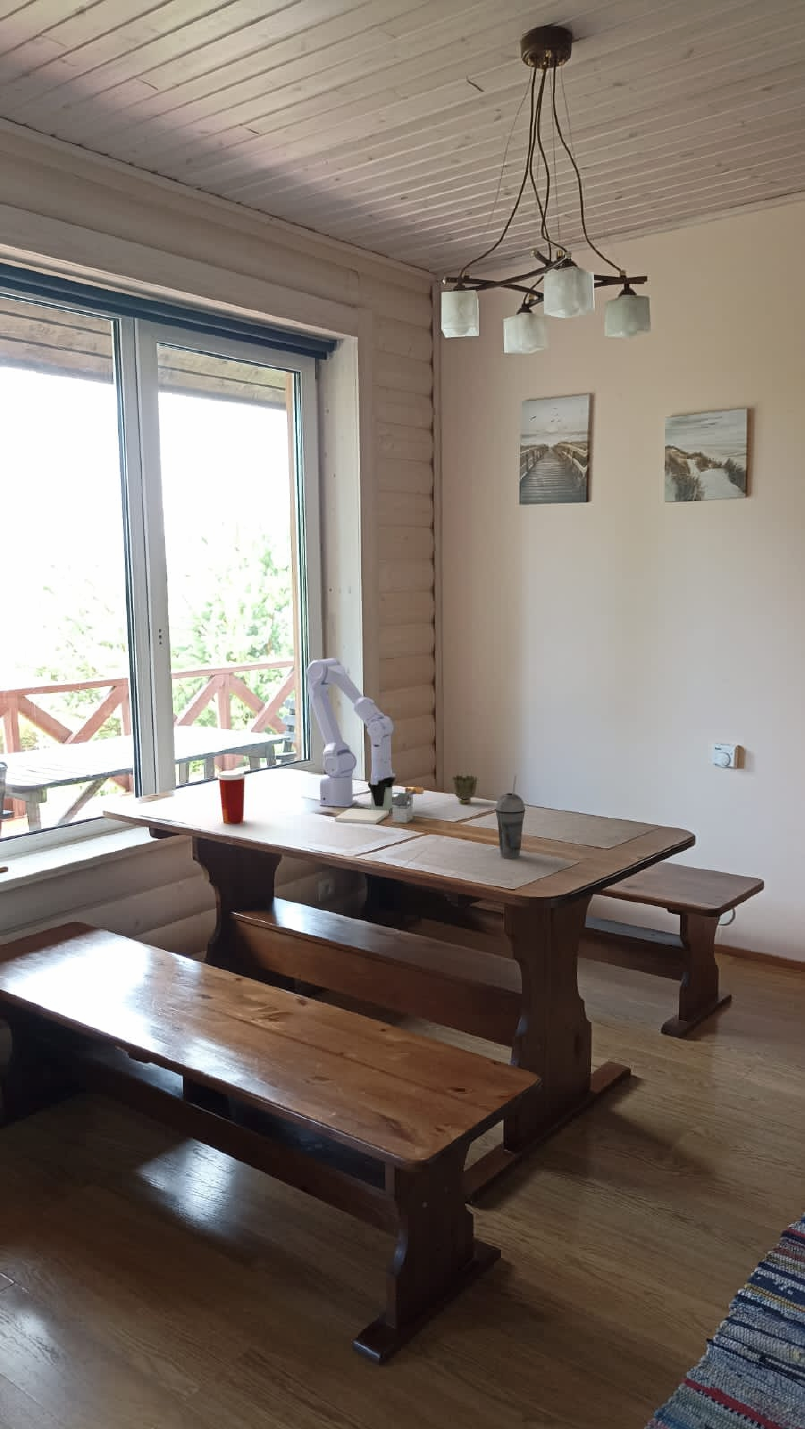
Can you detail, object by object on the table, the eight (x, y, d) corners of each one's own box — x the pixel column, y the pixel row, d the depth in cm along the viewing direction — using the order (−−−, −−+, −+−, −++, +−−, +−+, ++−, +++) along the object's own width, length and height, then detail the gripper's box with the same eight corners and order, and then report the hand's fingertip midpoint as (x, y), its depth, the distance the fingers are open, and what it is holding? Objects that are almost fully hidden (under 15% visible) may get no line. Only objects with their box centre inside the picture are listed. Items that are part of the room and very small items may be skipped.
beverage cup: (492, 852, 247) (492, 773, 245) (521, 851, 248) (522, 772, 245) (498, 861, 240) (498, 778, 237) (528, 859, 241) (528, 778, 238)
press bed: (335, 821, 281) (335, 817, 281) (349, 811, 293) (349, 808, 293) (375, 823, 278) (375, 820, 278) (388, 814, 289) (388, 810, 289)
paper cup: (252, 819, 285) (250, 771, 283) (237, 825, 278) (235, 776, 276) (229, 817, 288) (227, 769, 286) (213, 823, 281) (211, 774, 279)
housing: (371, 810, 294) (371, 789, 294) (376, 806, 299) (376, 785, 298) (387, 811, 293) (387, 790, 292) (392, 807, 298) (392, 786, 297)
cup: (477, 800, 305) (477, 774, 304) (477, 806, 298) (476, 779, 297) (453, 800, 306) (452, 774, 305) (451, 805, 299) (451, 779, 298)
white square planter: (392, 822, 280) (391, 798, 279) (398, 817, 285) (398, 794, 284) (407, 823, 278) (406, 799, 277) (413, 818, 284) (413, 795, 283)
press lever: (389, 806, 278) (389, 793, 277) (407, 793, 294) (407, 781, 294) (406, 807, 276) (406, 794, 276) (423, 794, 293) (423, 782, 292)
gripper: (386, 763, 286) (387, 810, 288) (401, 754, 300) (402, 799, 302) (363, 762, 288) (364, 808, 290) (379, 754, 302) (379, 798, 304)
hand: (382, 804), depth 296 cm, fingers closed on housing, 5 cm apart
